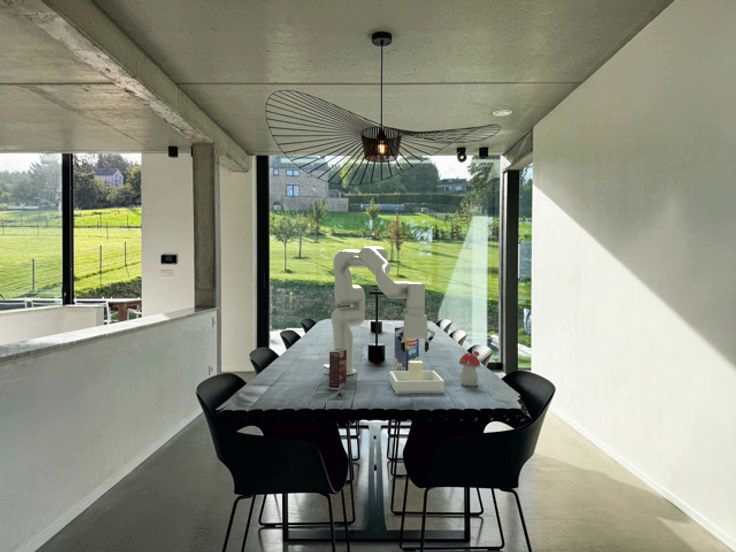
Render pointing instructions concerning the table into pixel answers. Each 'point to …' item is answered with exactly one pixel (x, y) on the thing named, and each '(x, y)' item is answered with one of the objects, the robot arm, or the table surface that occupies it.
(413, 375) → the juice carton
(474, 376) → the decorative ornament
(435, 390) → the tray
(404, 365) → the blue cardboard box
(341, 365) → the supplement box
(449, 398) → the table surface
